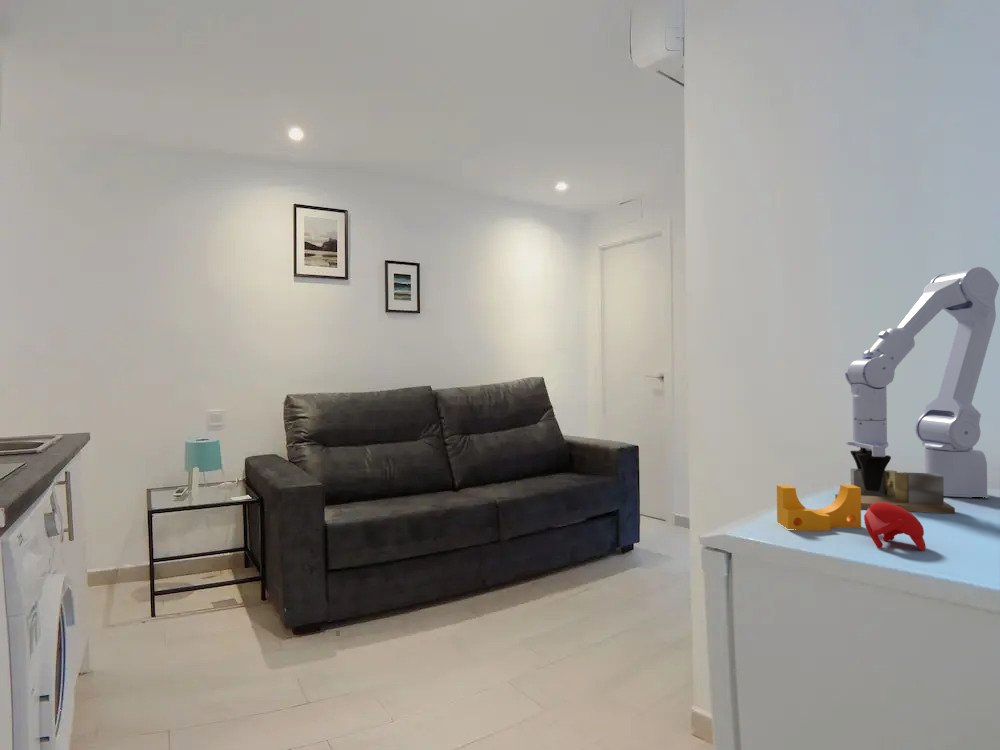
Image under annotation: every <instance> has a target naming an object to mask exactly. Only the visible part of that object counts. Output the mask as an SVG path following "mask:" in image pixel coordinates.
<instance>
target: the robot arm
mask: <svg viewBox="0 0 1000 750" xmlns="http://www.w3.org/2000/svg"><path fill="white" fill-rule="evenodd" d="M997 280H998V279H996V278H995V276H994V275H993V273H992V272H991V271H990V270H989V269H987V268H985V267H982V266H977V267H976V266H975V267H972V268H970V269H969V268H968V269H965V270H961V271H956V272H950V273H941V274H938V275H936V276H934V277H933V278H932V279H931V281H930V283H928V284H927V285H925V286H924V288H923V293H922V295H921V296H920V297H919V299H918V300H917V301H916V302H915V304H914V305H913V307H912V308H911V309H910V310H909V311H908V313H907V314H905V316H904V318H902V321H901V322H900V323H899V324H898V325H897V327H890V328H887V329H886V330H881V331H880V332H879V334H878V335H877V336H878V339H877V340H876V341H875V342H874V343H873V344H872V346H871V347H869V349H867V350H865V351H864V352H863V353H862V355H863V356H862V358H858V359H855V360H853V361H852V362H851V363H850V365H849V366H848V369H847V372H844V375H845V379H846V381H847V383H848V384H849V386H850V393H852V394H851V395H852V440H845V441H846V442H845V445H847V446H853V447H856V448H859V449H858V450H850V451H849V452H850V454H851V456H852V458H853V460H854V462H855V464H856V469H862V472H863V478H864V484H865V488H866V490H870V491H879V489H880V486H881V482H882V477H883V474H884V471H885V470H886V468H887V466H888V465H889V463H890V461H891V459H892V456H890V455H886V449H887V448H888V447H889V442H888V420H887V419H888V410H887V408H888V407H887V406H888V405H887V404H888V403H887V400H888V399H887V394H888V393H887V386H888V385H889V384H891V383H892V382H894V379H895V371H896V369H897V367H898V366H899V364H900V363H901V362H902V361H903V360H904V359H905V358H906V356H908V354H909V353H910V352H912V350H913V348H915V345H916V342H915V337H916V336H917V335H918V334H919V333H920V332H921V331H922V330H923V329H924V328H925V327H926V325H928V324H929V323H930V322H931V321H932V320H933V319H934V318H935V317H936V316H937V315H938V314H939V313H940V312H941V311H942V310H944V312H947V313H948V314H949V315H951V317H954V318H955V320H956V321H957V323H958V324H957V328H956V330H955V335H954V338H953V342H952V345H951V349H950V352H949V356H948V359H947V362H946V366H945V369H944V373H943V375H942V380H941V383H940V387H939V391H938V394H937V397H936V398H935V399H933V400H931V402H928V404H926V405H925V408H924V411H923V413H922V415H921V416H919V418H918V419H917V421H916V422H915V427H914V428H915V429H914V431H915V434H916V436H917V438H918V439H919V440H920V441H921V442H922V447H924V473H934V474H939V475H941V476H943V484H944V497H952V498H953V497H954V498H955V497H957V498H972V497H983V498H982V499H989V498H990V496H989V495H988V463H987V458H986V455H985V453H984V452H983V451H982V450H980V449H974V447H975V446H976V445H977V444H978V442H979V440H980V437H981V427H980V421H981V418H982V417H981V416H982V414H981V413H980V412H979V410H978V409H977V408H975V406H973V400H974V396H975V393H976V389H977V385H978V383H979V380H980V379H979V378H980V375H981V371H982V367H983V364H984V361H985V357H986V354H987V350H988V347H989V343H990V340H991V337H992V333H993V328H994V325H995V323H996V319H997V318H996V317H997V314H996V302H995V300H996V297H997V294H998V291H999V287H1000V283H999V282H998V281H997ZM984 497H985V498H984ZM988 497H989V498H988Z"/></svg>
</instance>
